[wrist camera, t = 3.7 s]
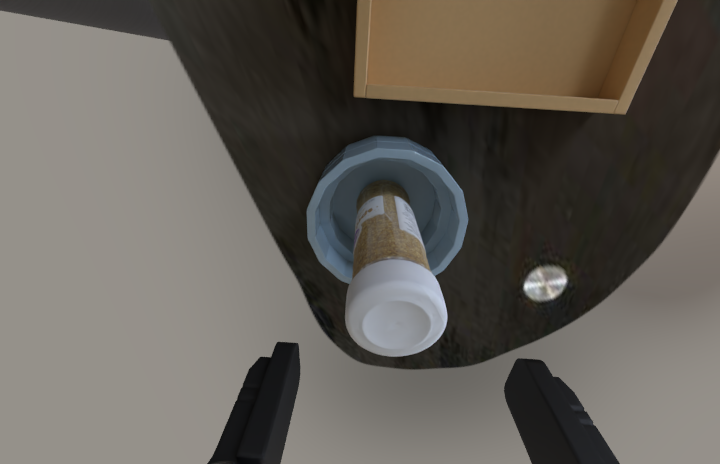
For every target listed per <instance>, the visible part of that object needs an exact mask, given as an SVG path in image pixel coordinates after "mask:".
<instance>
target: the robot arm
mask: <svg viewBox="0 0 720 464" xmlns="http://www.w3.org/2000/svg"><path fill="white" fill-rule="evenodd" d="M299 380H300V359H299V346H298V343H287V342H277V344H276V346H275V348H274V351H273V354H272V357H271V358H270V357H260V358H259V359H258V360H257V361H256V362H255V364H254V365H253V366H252V367H251V368H250V369H249V371H248V374H247V376H246V378H245V381H244V383H243V387H242V388H241V390H240V393H239V395H238V399H237V401H236V402H235V405H234V407H233V410H232V412H231V414H230V417H229V419H228V422H227V424H226V426H225V429H224V431H223V434H222V436H221V439H220V441H219V443H218V446H217V448H216V450H215V452H214V454H213V456H212V458H211V459H210V461H209V462H208V463H207V464H280V462H281V459H282V454H283V450H284V446H285V442H286V437H287V432H288V429H289V425H290V420H291V416H292V412H293V408H294V403H295V399H296V395H297V391H298V386H299ZM504 389H505V390H504V392H505V398H506V402H507V404H508V407H509V409H510V411H511V414H512V416H513V419H514V421H515V423H516V426H517V428H518V431H519V433H520V436H521V438H522V440H523V443H524V445H525V448H526V450H527V452H528V455H529V457H530V460H531V462H532V464H619V462H618V461H617V459H616V457H615V456H614V454H613V453H612V451H611V450H610V448H609V446H608V445H607V443H606V442H605V440H604V438H603V437H602V435H601V434H600V432H599V431H598V429H597V428H596V426H594V425H593V421H592V420H591V419H590V417H589V415H588V414H587V412H585V411H584V407H583V406H582V404H581V403H580V401H579V399H578V398H577V396H576V395H575V393H574V392H573V391H572V390H571V389H570V388H569V387H568V386H567V385H566V384H565V383H564V382H563V381H562V380H561V379H560V378H559V377H553V376H552V374H551V373H550V371H549V369H548V368H547V366H546V364H545V363H544V362H543V361H541V360H535V359H534V360H533V359H517V360H516V362H515V363H514V366H513V368H512V370H511V372H510V374H509V377H508V379H507V381H506V383H505V387H504Z"/></svg>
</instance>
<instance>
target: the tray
mask: <svg viewBox="0 0 720 464" xmlns="http://www.w3.org/2000/svg"><path fill="white" fill-rule="evenodd" d="M677 1H678V0H357V18H356V42H355V67H354V92H353V96H354V97H357V98H365V97H366V98H372V99H388V100H404V101H420V102H435V103H451V104H467V105H483V106H499V107H515V108H530V109H546V110H562V111H578V112H594V113H609V114H626V111H627V109H628V107H629V105H630V103H631V101H632V98H633V96H634V94H635V92H636V90H637V88H638V85H639V83H640V81H641V79H642V77H643V74H644V72H645V70H646V68H647V66H648V64H649V61H650V59H651V57H652V55H653V53H654V51H655V48H656V46H657V44H658V42H659V40H660V38H661V35H662V33H663V31H664V29H665V27H666V25H667V22H668V20H669V18H670V16H671V14H672V11H673V9H674V7H675V5H676V3H677Z"/></svg>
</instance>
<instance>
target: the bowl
mask: <svg viewBox="0 0 720 464" xmlns="http://www.w3.org/2000/svg"><path fill="white" fill-rule="evenodd" d="M379 180H389V181H392V182H396V183H397V184H399V185H400V186H402V187H403V188H404V190H405V191H406V192H407V194H408V196H409V200H410V207H411V209H412V211H413V213H414V216H415V219H416V222H417V226H418V229H419V232H420V235H421V238H422V241H423V244H424V247H425V251H426V258H427V260H428V264H429V267H430V271H431V272H432V274H433V275H434V276H435V275H437V274H439V273H440V272H442V271H443V270H444V269H445V268H446V267H447V266H448V264H449V263H450V262H451V260H452V259H453V258H454V256H455V255H456V254H457V253H458V251H459V250H460V249H461V247H462V243H463V239H464V235H465V231H466V227H467V224H468V215H467V210H466V205H465V200H464V195H463V191H462V189H461V188H460V187H459V186H458V184H457V183H456V182H455V180H454V179H453V178H452V176H451V175H450V174H449V172H448V171H447V170H446V169H445V167H444V166H443V165H442V164H441V162H440V161H439V160H438V159H437V158H436V156H435V155H434V154H433V153H432V151H430V150H429V149H427V148H425V147H423V146H421V145H419V144H417V143H416V142H414V141H412V140H410V139H408V138H405V137H395V136H379V135H376V136H375V135H374V136H372V137H369V138H366V139H363V140H360V141H358V142H355V143H352V144H349V145H348V146H346V147H345V148H344V149H343V150H342V151H341V152H340V153H339V154H338V155H336V156H335V157H334V158H333V159H332V160H331V161H330V162H329V163H328V164H327V165H326V167H325V170H324V172H323V174H322V176H321V178H320V180H319V182H318V184H317V187H316V189H315V191H314V194H313V196H312V198H311V201H310V203H309V205H308V208H307V237H308V240H309V242H310V244H311V246H312V248H313V250H314V252H315V254H316V256H317V258H318V260H319V262H320V263H321V264H322V265H323V266H324V267H325V268H327V269H328V270H329V271H330V272H331V273H332V274H333V275H335V276H336V277H337V278H338V279H339V280H341V281H343V282H346V283H348V284H350V283H351V281H352V274H353V263H354V257H353V251H354V238H355V223H356V217H357V209H356V203H357V199H358V196H359V194H360V193H361V191H362V190H363V189H364V188H365V187H366V186H367V185H369V184H371V183H373V182H375V181H379Z"/></svg>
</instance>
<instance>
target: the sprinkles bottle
mask: <svg viewBox="0 0 720 464" xmlns="http://www.w3.org/2000/svg"><path fill="white" fill-rule="evenodd" d="M356 209H357V217H356V223H355V238H354V251H353V257H354V263H353V274H352V281H351V283H350V285H349V287H348V291H347V298H346V309H345V322H346V327H347V330H348V332H349V334H350V336H351V337H352V338H353V340H354V341H355V342H356V343H357V344H359V345H360V346H361V347H363V348H364V349H366V350H368V351H370V352H373V353H376V354H379V355H383V356H407V355H411V354H415V353H418V352H420V351H423V350H424V349H426V348H428V347H430V346H431V345H432V344H433V343H435V342H436V341H437V340H438V339H439V338H440V336H441V335H442V333H443V331H444V329H445V327H446V323H447V310H446V306H445V302H444V298H443V295H442V292H441V289H440V286H439V283H438V281H437V280H436V278H435V276H434V275H433V274H432V272H431V271H430V267H429V264H428V260H427V258H426V251H425V247H424V244H423V241H422V238H421V235H420V232H419V229H418V226H417V222H416V219H415V216H414V213H413V211H412V209H411V207H410V200H409V196H408V194H407V192H406V191H405V190H404V188H403V187H402V186H400V185H399V184H397V183H396V182H392V181H389V180H379V181H375V182H373V183H371V184H369V185H367V186H366V187H365V188H364V189H363V190H362V191H361V193H360V194H359V196H358V199H357V203H356Z"/></svg>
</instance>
